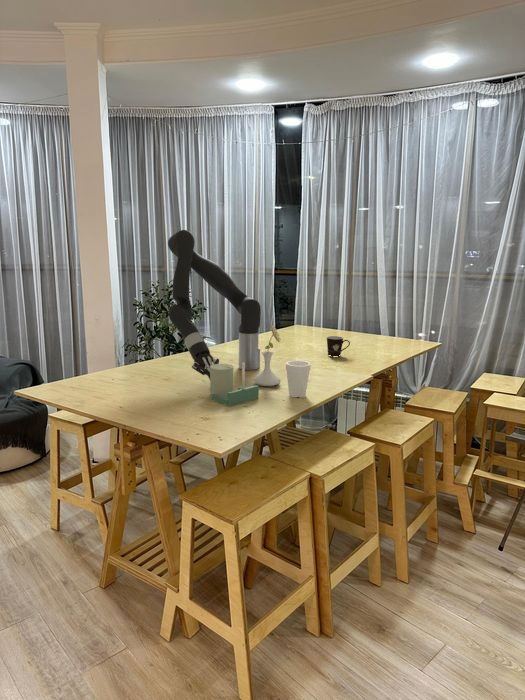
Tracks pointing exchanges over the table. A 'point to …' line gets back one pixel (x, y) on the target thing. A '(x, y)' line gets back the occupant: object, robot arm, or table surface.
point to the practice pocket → (238, 393)
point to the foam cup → (297, 377)
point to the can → (221, 379)
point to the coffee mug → (335, 345)
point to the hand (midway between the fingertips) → (215, 381)
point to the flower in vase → (268, 365)
